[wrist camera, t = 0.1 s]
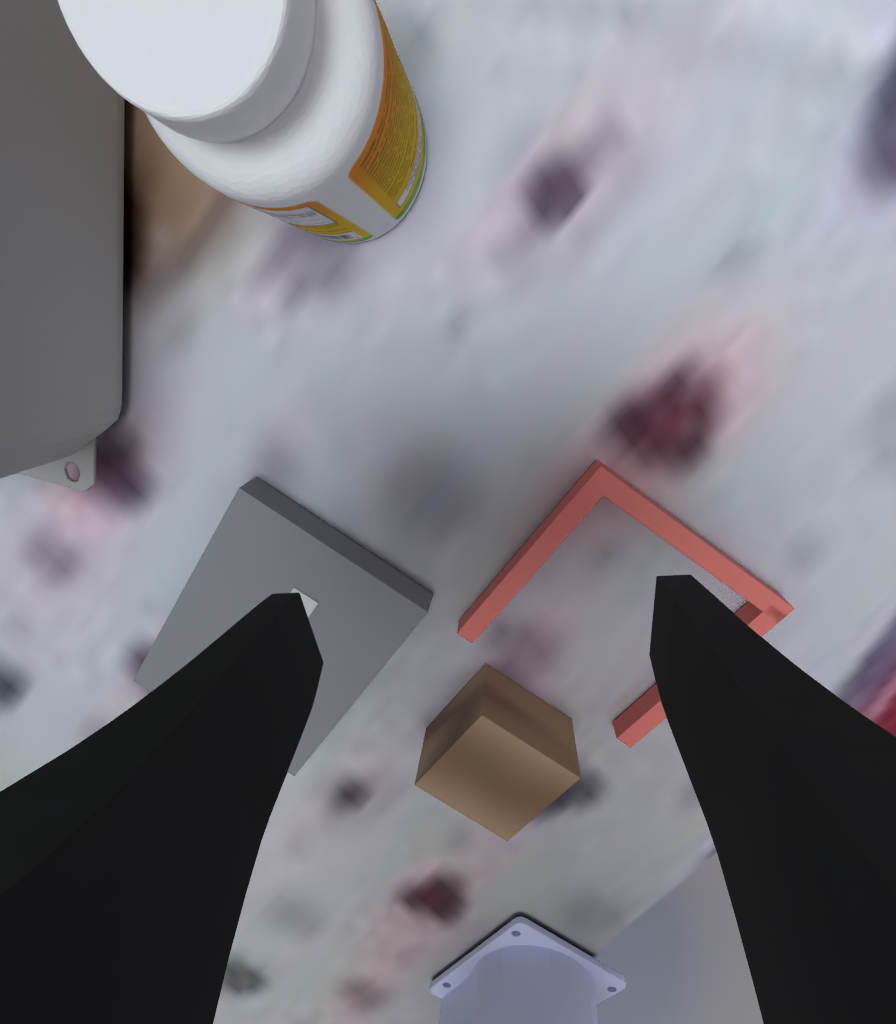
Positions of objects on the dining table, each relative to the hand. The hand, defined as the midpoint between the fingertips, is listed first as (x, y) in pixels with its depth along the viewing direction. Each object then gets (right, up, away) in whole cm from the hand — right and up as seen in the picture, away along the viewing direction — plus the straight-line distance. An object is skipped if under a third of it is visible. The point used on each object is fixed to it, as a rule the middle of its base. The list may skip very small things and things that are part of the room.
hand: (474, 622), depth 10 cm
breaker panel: (-8, -3, +14) cm, 16 cm away
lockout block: (+2, -8, +14) cm, 16 cm away
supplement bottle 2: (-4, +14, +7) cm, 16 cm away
